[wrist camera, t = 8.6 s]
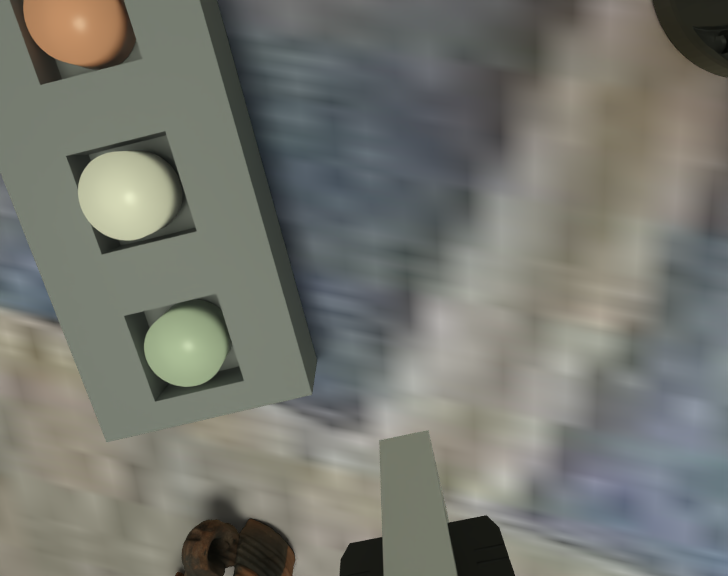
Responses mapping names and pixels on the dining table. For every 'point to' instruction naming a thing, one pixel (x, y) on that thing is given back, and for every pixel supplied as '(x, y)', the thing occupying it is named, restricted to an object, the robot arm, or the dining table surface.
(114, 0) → the terracotta button
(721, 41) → the robot arm
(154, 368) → the sage button
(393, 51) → the dining table surface
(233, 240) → the button console
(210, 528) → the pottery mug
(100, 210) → the cream button
